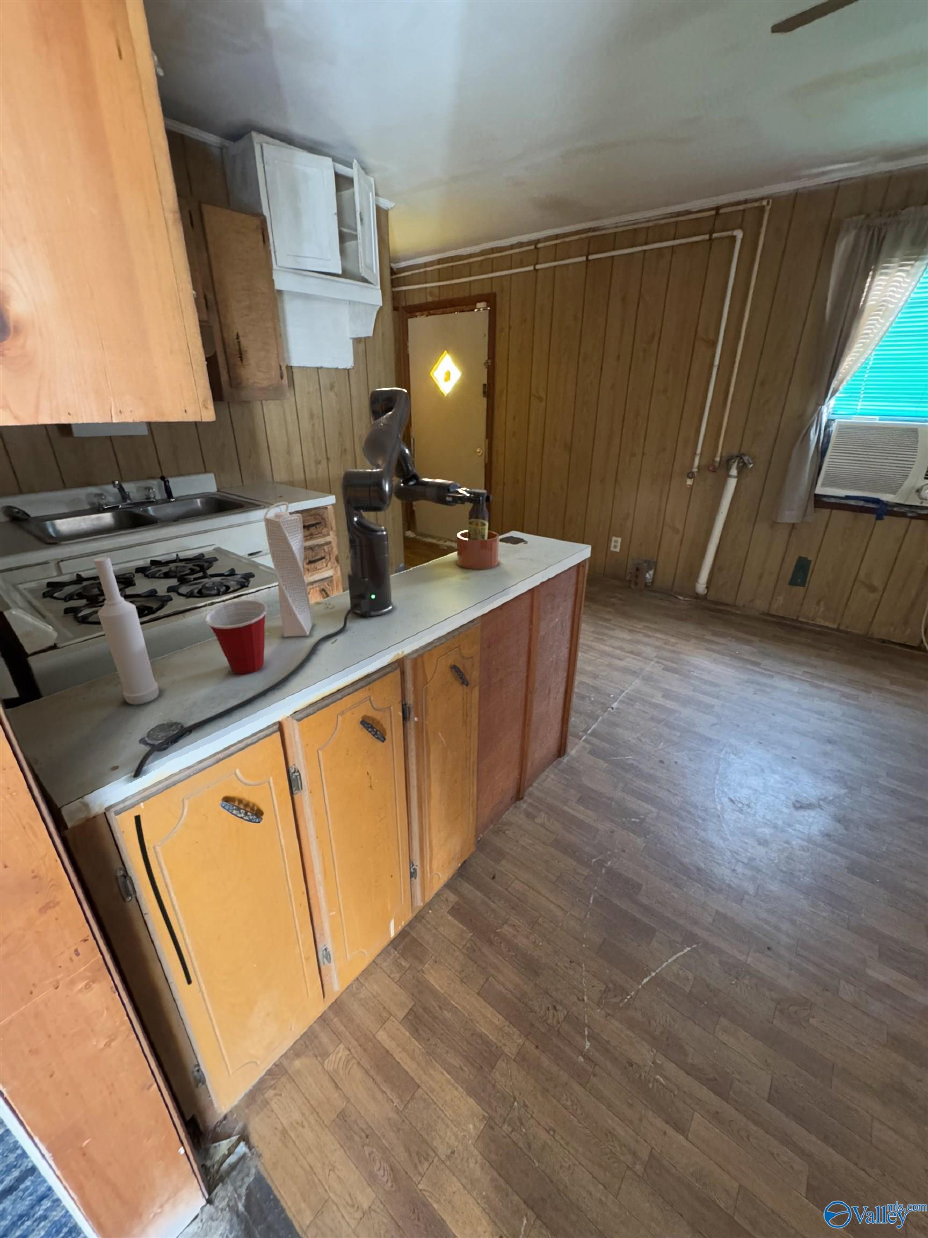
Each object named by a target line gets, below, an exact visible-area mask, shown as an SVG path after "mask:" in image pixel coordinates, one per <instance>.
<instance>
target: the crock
mask: <svg viewBox="0 0 928 1238" xmlns="http://www.w3.org/2000/svg"><path fill="white" fill-rule="evenodd" d="M499 541H500V534H499V533H497V532H495V531H493V530H488V533H487V540H471V539H467V530H463V531H460V532H458V533H457V536H456V550H457V551H456V561H457V562H456V563H457V565H458V566H459V567H461V568H464V569H469V570H486V569H492V568H495V567H496V566H498V564H499V543H500V542H499Z"/></svg>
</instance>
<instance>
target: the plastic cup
mask: <svg viewBox="0 0 928 1238" xmlns="http://www.w3.org/2000/svg"><path fill="white" fill-rule="evenodd" d="M267 610H268V605H267V604H266V603H264V602H263V601H260V600H256V599H240V600H232V601H230V602H226V603H223V604H220V605H218V606H216V607H214V608H212V609H211V610H209V612H207V613H206V614H205V615H204V618H203V620H204V622H205V623H206V624H207V626H208V627H210V629H211V630H212V631H213V634H214V636H215V637H216V639H217V641H218V644H219V646H220V648H221V651H222V652H223V655H224V657H225V658H226V660H227V663H228V665H229V667H230V669H231V671H232V673H234V674H237V675H249V674H252V673H256V672H258V671H259V670H261V669H262V668H263V667H264V663H265V624H266V615H267V612H268V611H267Z"/></svg>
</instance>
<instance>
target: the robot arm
mask: <svg viewBox="0 0 928 1238" xmlns="http://www.w3.org/2000/svg"><path fill="white" fill-rule="evenodd" d="M368 409H369V413H370V417H371V420H372V423H371V424H370V425H368V427H367V429H366V432H365V434H364V438H363V439H362V447H361V449H362V453H363V456H364V458H365V460H366V462H367V463H368V464H369V466H370V467H372V468H373V469H363V468H362V469H359V468H358V469H352V468H351V469H346V470H345V471H343V473H342V475H341V479H340V491H341V492H340V493H341V500H342V506H343V512H344V519H345V528H346V535H347V544H348V554H349V556H348V557H349V565H350V573H348V574H347V583H348V593H349V605H350V608H349V610H348V611H347V612H346V613H345V615H344V618H343V625H342V627H341V628H339V629H338V630H337V631H334V632H332V633H329V634H326V635H324V636H322V637H321V638H319V639H318V640H317V641H316V642H315V643H314V645H313V646H312V648H311V649H310V651H308V654H307V655H306V656H305V657H304V658H303V659H302V660H301V662H300V663H299V664H298V665H297V666H296V667H295V668H294V669H292V670H291V671H290V672H289V673H288V674H286V675H285V676H284V677H282V678H281V679H280V680H278V681H277V682H275V683H274V684H272V685H270V686H269V687H266V688H265V689H263V690H262V691H259V692H258V693H257V694H254V695H253V696H251V697H248V698H247V699H246V700H243V701H241V702H238V703H237V704H235V705H232V706H230V707H228V708H226V709H224V710H222V711H219V712H218V713H216V714H213V715H211V716H208V717H206V718H204V719H202V720H199V721H197V722H195V723H192V724H190V725H188V726H185V727H184V728H182V729H180V730H178V731H176V732H174V733H173V734H171V735H170V736H168V737H166V738H165V739H163V740H162V741H160V742H159V743H157V744H155V745H154V746H152V747H151V748H150V749H148V751H147V752H146V753H145V754H144V755H143V757H141V759H140V761H139V763H138V764H137V766H136V768H135V770H134V773H133V776H132V777H133V778H134V779H136V778H138V777H140V775H141V774H142V771H143V770H144V768H145V765H146V764H147V762H148V760H149V759H150V758H151V756H153V754H154V753H155V752H157V751H158V750H160V749H161V748H163V747H164V746H166V745H168V744H169V743H171V742H172V741H175V739H177V738H179V737H180V736H182V735H184V734H186V733H187V732H190V731H192V730H194V729H197V728H199V727H201V726H204V725H206V724H208V723H211V722H213V721H215V720H217V719H219V718H221V717H224V716H225V715H228V714H230V713H232V712H234V711H236V710H239V709H240V708H242V707H245V706H246V705H248V704H250V703H252V702H254V701H256V700H258V699H260V698H261V697H263V696H265V695H267V694H268V693H270V692H272V691H273V690H275V689H277V688H278V687H280V686H281V685H282V684H284V683H285V682H286V681H288V680H289V679H290V678H291V677H292V676H294V675H295V674H296V673H297V672H299V670H301V668H303V667H304V665H305V664H306V663H307V662H308V661H309V660H310V659H311V657H312V656H313V655H314V653H315V651H316V649H317V648H318V646H320V644H321V643H323V642H324V641H325V640H327V639H330V638H332V637H335V636H337V635H340V634H342V633H343V631H345V629H346V628H347V625H348V619H349V616H350V615H351V613H352V612H353V613H355V614H357V615H359V616H362V617H365V618H369V617H375V616H382V615H385V614H387V613H390V612H391V611H392V610H393V607H394V606H393V598H392V584H391V583H392V581H391V565H390V563H391V561H390V547H389V531H388V529H387V527H385V526H384V525H382V524H380V523H376V522H374V521H372V520H370V519H368V518H367V517H366V516H364V514H363V513H382V512H386V511H387V510H388V509H389V508H390V506H391V503H392V500H393V499H392V498H393V496H394V498H395V499H397V500H398V501H400V502H403V503H412V502H419V501H425V502H431V503H434V504H436V505H441V506H445V507H455V506H457V505H466V504H467V505H470V504H472V505H473V504H478V505H480V504H482V497H479V496H473V491H474V490H478V489H477V488H472V489H468V488H466V487H461V485H460V484H459V483H458V482H456V481H451V480H445V479H433V478H427V477H424V478H423V477H422V478H421V476H420V474H419V473H418V472H417V469H416V468H415V466H414V463H413V456H412V454H411V450H410V448H409V446H408V445H407V444H406V443H405V442H404V441H403V436H404V432H405V429H406V427H407V424H408V422H409V419H410V413H411V399H410V396H409V394H408V392H407V390H406V389H404V388H401V387H400V388H399V387H389V388H388V387H387V388H376V389H373V390H371V391H370V393H369V396H368ZM395 478H396V479H398V480H397V481H396V482H394V481H395ZM492 500H493V499H492V494H488V493H487V496H486V502H485V503H491V502H492ZM133 817H134V819H133V820H134V825H135V826H134V827H135V831H136V837H137V841H138V842H137V843H138V846H139V850H140V855H141V858H142V861H143V866H144V869H145V872H146V875H147V878H148V882H149V884H150V887H151V890H152V893H153V895H154V898H155V901H156V904H157V906H158V908H159V911H160V914H161V916H162V920H163V922H164V925H165V926H166V930H167V931H168V935H169V937H170V940H171V942H172V944H173V947H174V950H175V952H176V955H177V957H178V960H179V963H180V966H181V969H182V972H183V975H184V978H185V980H186V984H187V985H188V986H190V985H192V983H193V980H192V977H191V973H190V971H189V968H188V964H187V962H186V959H185V956H184V953H183V950H182V948H181V946H180V942H179V939H178V938H177V934H176V932H175V929H174V926H173V925H172V922H171V919H170V916H169V914H168V912H167V909H166V906H165V903H164V901H163V898H162V895H161V892H160V889H159V887H158V884H157V881H156V878H155V875H154V871H153V868H152V865H151V862H150V858H149V855H148V854H149V853H148V850H147V846H146V842H145V836H144V831H143V826H142V819H141V818H142V817H141V814H137V815H134V816H133Z"/></svg>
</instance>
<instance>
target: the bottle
mask: <svg viewBox="0 0 928 1238" xmlns="http://www.w3.org/2000/svg"><path fill="white" fill-rule="evenodd" d="M93 562H94V564H95V569H96V572H97V575H98V577H99V581H100V584H101V587H102V591H103V594H104V597H105V600H104V605H103V606H102V607H101V608H100V609H99V611H98V612H97V616H98V618H99V621H100V624H101V627H102V630H103V633H104V636H105V638H106V641H107V644H108V648H109V650H110V653H111V656H112V659H113V661H114V664H115V668H116V670H117V674H118V676H119V678H120V679H119V680H120V683H121V685H122V688H123V691H122V693H123V697H124V699H125V701H126V702H127V703H128V704H130V705H136V706H137V705H142V704H147V703H149V702H150V701H153V700H155V699H156V698H158V696H159V694H160V689H159V685H158V682H156V681H155V677H154V673H153V669H152V666H151V662H150V657H149V653H148V650H147V646H146V642H145V639H144V635H143V631H142V625H141V622H140V619H139V614H138V610H137V608H136V605H135V604H134V603H132V602H129V601H126V600H125V598H124V597H122V596H121V593H120V590H119V587H118V583H117V580H116V577H115V573H114V568H113V564H112V561H111V558H110V557H109V556H102V557H96V558H94V559H93Z"/></svg>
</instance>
